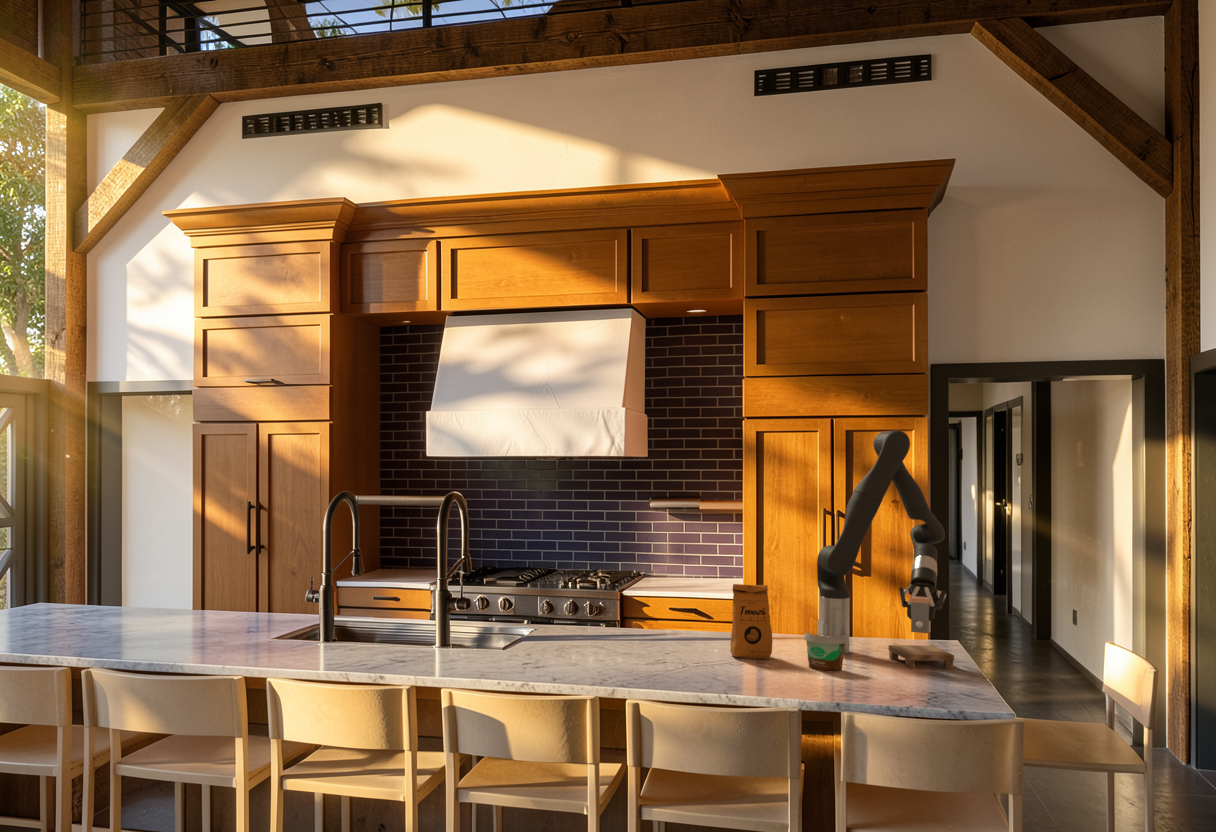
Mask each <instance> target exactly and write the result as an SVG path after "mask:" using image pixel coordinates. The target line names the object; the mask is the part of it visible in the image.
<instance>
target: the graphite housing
mask: <svg viewBox="0 0 1216 832" xmlns="http://www.w3.org/2000/svg"><path fill="white" fill-rule="evenodd" d="M929 607H930V598H927V597H918V596H916V597H912V598H911V619H910V628H911V629H910V632H911V633H920V634H930V632H932V631H931V630H932V629H931V626H932V625H931V621H929Z"/></svg>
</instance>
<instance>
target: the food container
mask: <svg viewBox="0 0 1216 832" xmlns="http://www.w3.org/2000/svg"><path fill="white" fill-rule="evenodd" d="M803 640H805V642H806V650H807V663H808V668H809V669H811V670H813V671H819V672H827V673H831V672H832V673H833V672H834V673H835V672H840V671H842V670H843V660H844V655H845V654H844V645H845V643H847V639H846V637H845V635H844V636H838V637H833V636H829V635H817V634H812V633H809V632H808V631H807V630H805V633H804V636H803Z"/></svg>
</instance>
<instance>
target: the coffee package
mask: <svg viewBox="0 0 1216 832" xmlns="http://www.w3.org/2000/svg"><path fill="white" fill-rule="evenodd" d="M768 586H769V585H768V584H741V583H733V584H732V589H731V590H732V593H733V597H732V599H733V600H732V627H731V633H730V634H731V635H730V637H731V638H730V653H731V655H732V656H734V657H736V658H742V659H754V660H770V659H771V658H770V657H771V655H772V653H773V630H772V626H771V616H770V614H771V613H770V604H769V594H768V591H769V589H768V588H769V587H768Z"/></svg>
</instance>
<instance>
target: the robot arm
mask: <svg viewBox="0 0 1216 832" xmlns="http://www.w3.org/2000/svg"><path fill="white" fill-rule="evenodd" d="M872 443H873V446H872V447H873V450H874V452H875V453H876V456H877V459H876V461H875V463H874V465H873V466H872V467H871V469H870V470H869V471H868V472H867V474H865V475H864V476H863V478H862V479H861V480H860V481H859V482H858V484H857V485H856V486H855V487H854V490H853V492H852V495H851V497H850V498H849V500H848V503H847V505H846V509H845V516H844V525H843V529H842V531H841V533H840V536H839V538H838V539H837V541H836V542H835V545H826V546H824V547H822V548H821V549H820V551H819V552H818V555H817V559H816V571H817V572H816V577H817V581H816V582H817V587H818V589H819V618H818V619H817V621H816V624H817V625H816V626H817V628H816V629H817V630H816V631H817V632H816V635H829V636H833V637H838V636H844V635H845V637H846V639H847V643H845V645H844V654H843V655H846V654H850V610H851V609H850V608H851V607H850V603H851V602H850V600H851V599H850V598H851V596H850V595H851V594H850V588H849V587H848V586H847V583H846V578H845V576H847V575H848V574H849V573H851V571H852V569H853V568H854V565H855V563H856V561H857V558H858V556H859V552H860V549H861V546H862V543H863V541H864V539H865V537H866V535H867V533H868V530H869V529H870V526H871V525H872V522H873V521H874V518H875V516H876V514H877V513H878V510H879V509H880V506H881V505H882V502H883V500H884V497H885V495H886V493H887V491H888V489H889V488H890V485H891V483H893V485H894V486H895V488H896V491H897V493H898V495H899V497H900V499H901V502H902V505H903V506H904V511H906V515H907V516H908V519H911V520H916V521H922V522H923V523H921V524H916V525H914V526H913V527H912V528H911V530H910V533H909V535H910V539H911V542H912V546H913V560H912V561H913V562H912V563H911V564H912V565H911V573H910V583H909V586H908V587H906V588H904V587H902V586H901V587H899V588H898V591H899V596H900V601H901V606H902V608H906V616H907V618H909V620H911V598H912V597H916V596H918V597H927V598H930V607H929V621H930V622H932V620H934V619H935V613H936V611H941V610H942V609H943V607H944V604H945V601H946V600H947V599H946V598H947V592H946V590H945V589H943V590H938V588H937V578H938V553H939V552H938V549H937V547H936V546H934V545H935V544H939V543H942V542H943V541H944V540H945V538H946V531H945V529H944V526H943V524H941V522H940V521H939V519H937V517H936V516H935V514H934V513H933V512H932V510H931V509H930V508H929V506H928V503H927V499H926V497H925V496H924V493H923V491H922V489H921V488H920V485H919V484H918V483H917V482H916V480H915V478H913V477H912V475H911V474H910V472H909V470H908V469H907V467H906V465H905V463H904V460H905V458H906V457H907V455H908V453H909V451H910V447H911V441H910V437H909V436H908V434H907V433H906V432H905V431H901V430H898V429H897V430H886V431H881V432H879V433H877V435H876V436H875V437H874V439H873V442H872ZM908 594H909V595H910V598H909V600H908V601H907V599H906V596H907V595H908ZM936 596H937V597H938V599H937V602H936V603H935V602H934V600H933V599H934V598H935V597H936Z"/></svg>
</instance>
